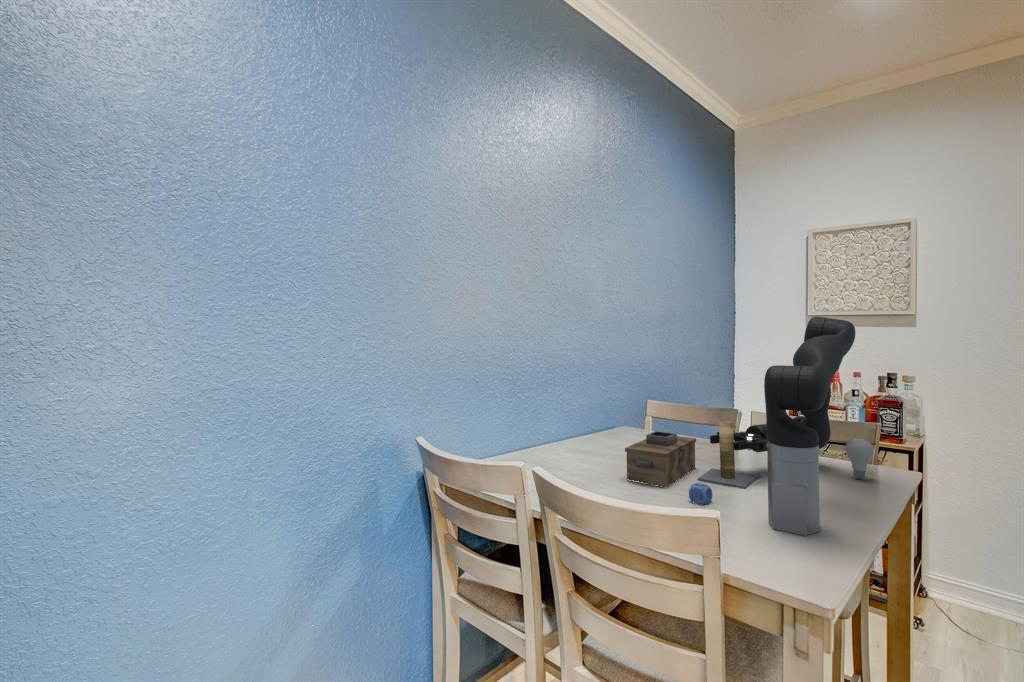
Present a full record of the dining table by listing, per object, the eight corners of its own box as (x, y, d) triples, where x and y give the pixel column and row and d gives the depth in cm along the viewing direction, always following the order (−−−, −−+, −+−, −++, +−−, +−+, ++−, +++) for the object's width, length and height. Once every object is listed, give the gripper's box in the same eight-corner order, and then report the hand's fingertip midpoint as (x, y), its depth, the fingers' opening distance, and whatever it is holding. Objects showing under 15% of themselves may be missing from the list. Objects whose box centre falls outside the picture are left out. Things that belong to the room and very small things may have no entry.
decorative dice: (696, 498, 118) (696, 481, 118) (712, 502, 115) (712, 485, 115) (688, 502, 115) (688, 485, 115) (705, 506, 112) (704, 489, 112)
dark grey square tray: (668, 446, 133) (668, 437, 133) (646, 443, 137) (646, 434, 137) (677, 442, 138) (677, 433, 138) (655, 439, 142) (655, 431, 142)
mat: (745, 489, 124) (745, 486, 124) (697, 480, 131) (697, 478, 131) (757, 477, 133) (756, 475, 133) (712, 470, 141) (712, 468, 141)
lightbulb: (872, 477, 130) (872, 437, 130) (874, 484, 125) (874, 441, 125) (845, 474, 134) (844, 435, 134) (846, 480, 129) (845, 439, 128)
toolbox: (664, 489, 124) (664, 455, 124) (623, 481, 132) (622, 448, 132) (698, 467, 144) (697, 437, 144) (660, 461, 151) (660, 433, 151)
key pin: (732, 479, 130) (731, 423, 129) (718, 477, 132) (717, 422, 132) (736, 476, 132) (734, 421, 132) (722, 474, 135) (721, 420, 134)
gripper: (746, 420, 144) (703, 424, 138) (789, 428, 130) (742, 434, 125) (747, 445, 144) (703, 450, 138) (789, 456, 130) (743, 463, 125)
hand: (722, 442), depth 131 cm, fingers open, 8 cm apart
